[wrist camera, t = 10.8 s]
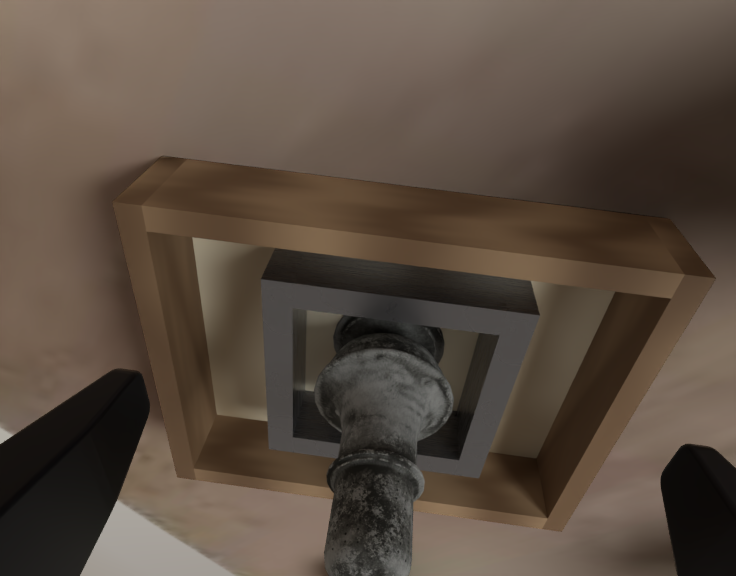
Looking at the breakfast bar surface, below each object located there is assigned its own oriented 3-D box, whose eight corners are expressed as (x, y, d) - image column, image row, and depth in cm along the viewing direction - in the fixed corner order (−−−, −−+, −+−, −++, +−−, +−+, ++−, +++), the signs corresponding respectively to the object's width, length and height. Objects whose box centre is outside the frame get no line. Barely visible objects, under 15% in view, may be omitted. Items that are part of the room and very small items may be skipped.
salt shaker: (474, 323, 23) (505, 616, 14) (417, 400, 27) (410, 678, 17) (353, 276, 22) (295, 554, 13) (311, 362, 26) (239, 633, 16)
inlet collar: (527, 269, 21) (540, 315, 19) (474, 428, 27) (478, 478, 25) (279, 237, 21) (260, 279, 19) (283, 402, 28) (268, 449, 25)
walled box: (670, 218, 20) (716, 278, 17) (547, 463, 29) (561, 531, 26) (162, 155, 20) (112, 201, 17) (204, 416, 30) (177, 477, 27)
